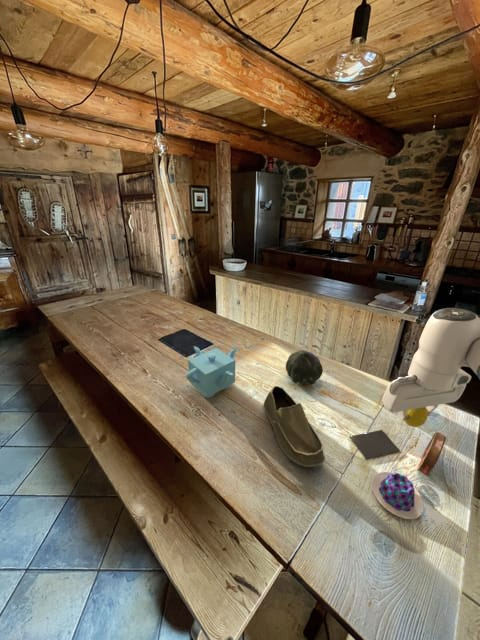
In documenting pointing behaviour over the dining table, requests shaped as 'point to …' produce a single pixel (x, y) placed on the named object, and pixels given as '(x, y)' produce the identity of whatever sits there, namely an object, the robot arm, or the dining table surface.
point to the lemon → (416, 417)
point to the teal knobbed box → (211, 371)
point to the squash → (304, 367)
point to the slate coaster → (374, 444)
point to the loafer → (293, 429)
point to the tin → (432, 453)
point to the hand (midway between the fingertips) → (413, 416)
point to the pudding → (397, 495)
